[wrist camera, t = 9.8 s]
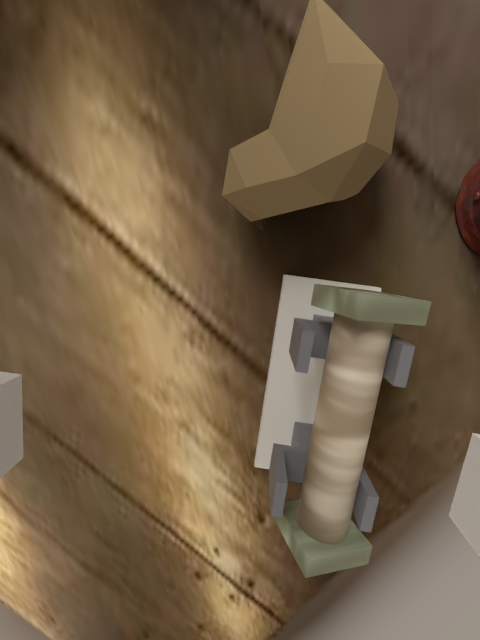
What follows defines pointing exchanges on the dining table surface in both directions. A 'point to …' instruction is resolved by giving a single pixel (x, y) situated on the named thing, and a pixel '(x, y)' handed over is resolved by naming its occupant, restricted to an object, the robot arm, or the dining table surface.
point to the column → (343, 426)
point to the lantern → (470, 208)
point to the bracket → (308, 392)
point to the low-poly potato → (317, 126)
